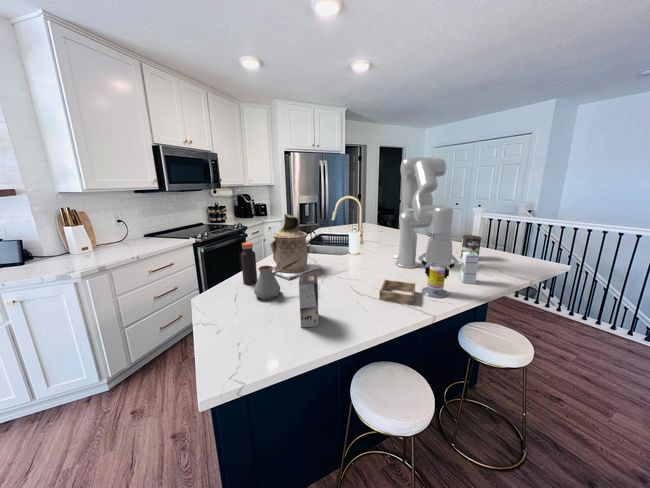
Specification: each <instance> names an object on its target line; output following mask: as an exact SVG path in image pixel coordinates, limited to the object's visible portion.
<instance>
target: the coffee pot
mask: <svg viewBox="0 0 650 488" xmlns="http://www.w3.org/2000/svg"><path fill="white" fill-rule="evenodd" d="M298 261H300V259H299V260H297V261H294V262H292V263H290V264H288V265H286V266H284V267H283V268H281V269H279V270H277V271H275V272H273V273H272V269H273V266H268V265H261V266H259V267H257V270H258V271H259V275H258V276H257V282H256V283H255V286H254V289H253V293H254V294H255V295H256V297H258V298H259V299H261V300H270V299H274V298H276V297H277V296H278V294H279V293H280V291H281V286H280V283H279V282H278V280H277V278H276V275H275V274H276V273H278V272H279V271H281V270H283V269H285V268H288V267H290V266H292V265H293V264H294V263H296V262H298ZM300 263H301V262H300Z"/></svg>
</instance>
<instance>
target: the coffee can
mask: <svg viewBox="0 0 650 488" xmlns="http://www.w3.org/2000/svg"><path fill="white" fill-rule="evenodd" d="M481 243H482V236H478V235H473V234H472V235H471V234H466V235H465V234H464V235H462V240H461V248H460V256H459V258H460V259H461V260H462V254H463V252H475V253H476V254H478V255H479V256H480V249H481Z"/></svg>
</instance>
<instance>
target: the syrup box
mask: <svg viewBox="0 0 650 488" xmlns="http://www.w3.org/2000/svg"><path fill="white" fill-rule="evenodd" d="M479 257H480V254H479V255H478V254H476V253H475V252H463V254H462V259H461V266H460V274H459V280H460V281H461V282H462V284H469V285H472V284H473V285H476V281H477V274H478V266H479Z"/></svg>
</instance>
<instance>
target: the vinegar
mask: <svg viewBox="0 0 650 488" xmlns="http://www.w3.org/2000/svg"><path fill="white" fill-rule="evenodd" d="M253 246H254V245H253V242H250V241H247V242H242V243H241V249H242V252H241V253H240V262H241V269H242V271H241V272H242V281H243V284H245V285H246V286H248V285H249V286H251V285H256V283H257V280H258V274H257V273H258V271H257V270H258V268H257V259H256V252H255V251H254V250H253Z"/></svg>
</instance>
